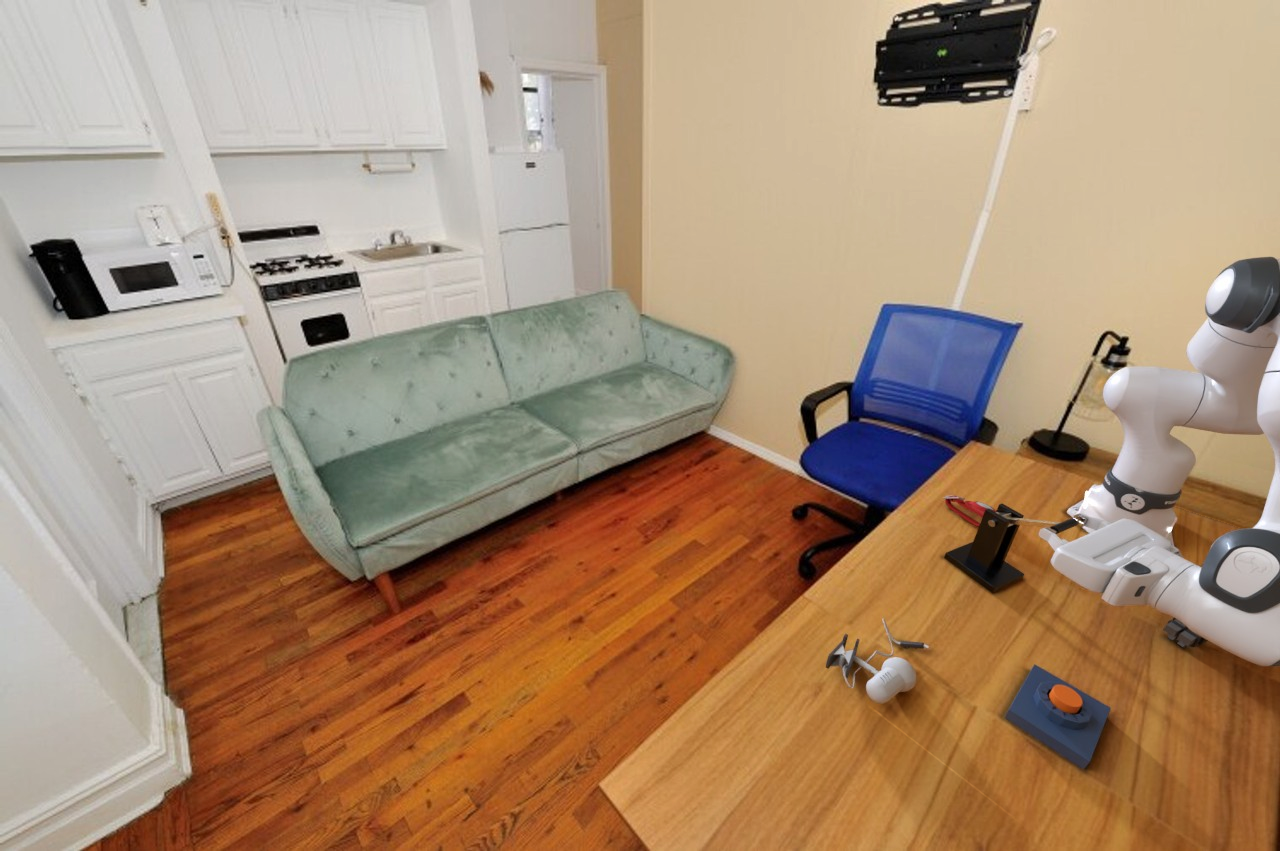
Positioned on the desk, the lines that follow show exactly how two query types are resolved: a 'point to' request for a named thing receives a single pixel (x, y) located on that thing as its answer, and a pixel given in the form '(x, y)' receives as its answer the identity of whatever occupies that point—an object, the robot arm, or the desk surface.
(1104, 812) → the desk surface
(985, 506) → the tracker holder
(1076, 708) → the button
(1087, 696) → the control block
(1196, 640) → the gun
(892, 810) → the desk surface
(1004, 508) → the switch bracket
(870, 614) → the desk surface
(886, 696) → the clip-on lamp
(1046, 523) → the switch lever
